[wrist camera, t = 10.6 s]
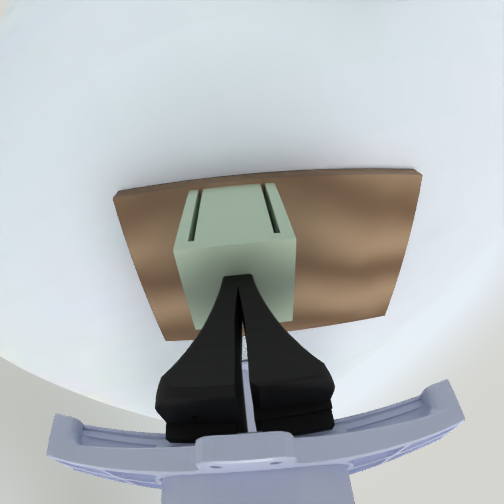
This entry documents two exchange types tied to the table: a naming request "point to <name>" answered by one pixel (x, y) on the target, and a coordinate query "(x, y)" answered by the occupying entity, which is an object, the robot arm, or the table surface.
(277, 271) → the green slotted cube
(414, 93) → the table surface
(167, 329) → the board
